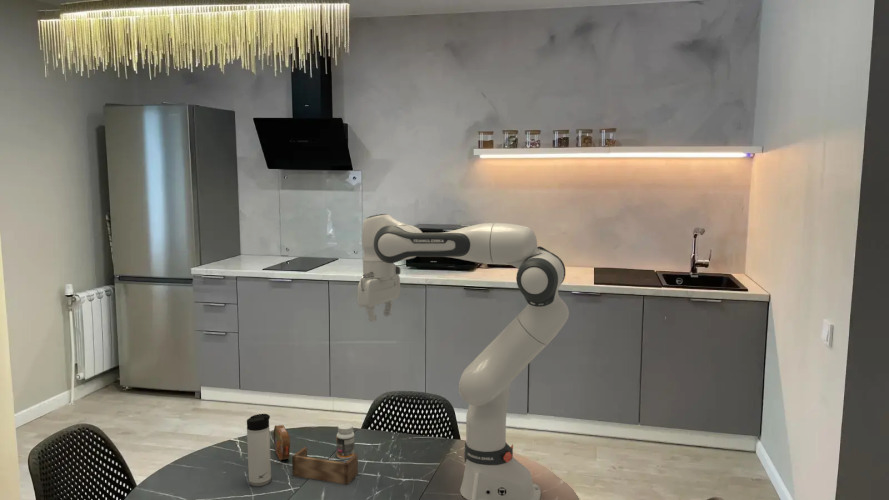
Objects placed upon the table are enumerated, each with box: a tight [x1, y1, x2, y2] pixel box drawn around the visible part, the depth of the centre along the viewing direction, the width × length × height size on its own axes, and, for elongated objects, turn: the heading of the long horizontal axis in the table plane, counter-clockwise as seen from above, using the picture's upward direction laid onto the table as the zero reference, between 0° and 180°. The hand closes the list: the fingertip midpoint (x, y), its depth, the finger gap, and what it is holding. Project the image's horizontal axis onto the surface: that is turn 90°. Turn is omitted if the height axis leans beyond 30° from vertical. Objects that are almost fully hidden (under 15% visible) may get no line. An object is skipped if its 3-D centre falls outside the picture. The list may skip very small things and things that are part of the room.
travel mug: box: [246, 413, 272, 487], centre depth 184 cm, size 6×7×20 cm
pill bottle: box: [335, 422, 356, 460], centre depth 202 cm, size 6×6×10 cm
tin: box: [273, 424, 291, 461], centre depth 203 cm, size 15×3×8 cm, turn 25°
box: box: [291, 446, 359, 486], centre depth 189 cm, size 18×7×6 cm, turn 72°
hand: (380, 318), depth 184 cm, fingers open, 8 cm apart
